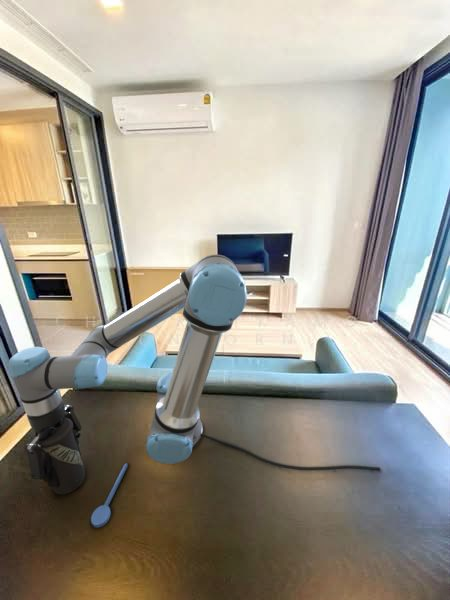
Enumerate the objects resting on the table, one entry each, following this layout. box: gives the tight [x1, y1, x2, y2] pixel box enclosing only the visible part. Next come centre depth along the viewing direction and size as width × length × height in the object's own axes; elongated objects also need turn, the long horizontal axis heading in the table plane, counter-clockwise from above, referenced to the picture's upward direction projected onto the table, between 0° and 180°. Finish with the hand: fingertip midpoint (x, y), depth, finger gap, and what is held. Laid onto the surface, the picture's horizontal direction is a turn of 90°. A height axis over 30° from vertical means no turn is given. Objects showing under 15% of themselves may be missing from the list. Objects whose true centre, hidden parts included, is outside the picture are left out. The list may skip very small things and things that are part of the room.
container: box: [31, 418, 86, 495], centre depth 68 cm, size 9×9×20 cm
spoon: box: [90, 463, 129, 528], centre depth 68 cm, size 16×4×1 cm, turn 173°
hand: (66, 469), depth 70 cm, fingers closed on container, 8 cm apart
